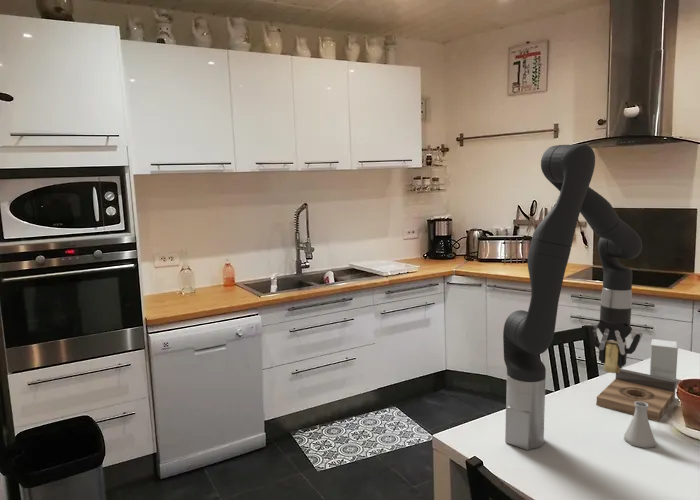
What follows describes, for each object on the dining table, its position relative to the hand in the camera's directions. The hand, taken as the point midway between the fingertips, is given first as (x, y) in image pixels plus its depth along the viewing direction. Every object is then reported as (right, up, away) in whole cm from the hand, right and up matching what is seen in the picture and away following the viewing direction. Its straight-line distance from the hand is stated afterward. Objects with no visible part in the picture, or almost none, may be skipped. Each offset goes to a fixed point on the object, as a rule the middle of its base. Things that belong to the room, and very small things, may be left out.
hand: (612, 364), depth 142 cm
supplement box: (+29, -11, +25) cm, 40 cm away
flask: (0, -17, -13) cm, 21 cm away
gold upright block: (0, -2, 0) cm, 2 cm away
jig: (+12, -13, +10) cm, 20 cm away
